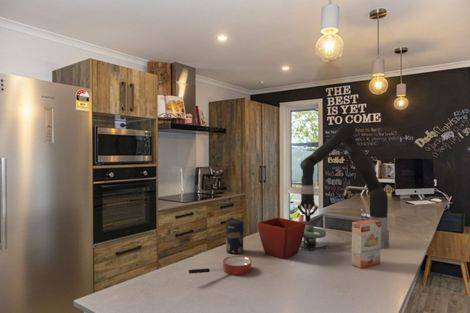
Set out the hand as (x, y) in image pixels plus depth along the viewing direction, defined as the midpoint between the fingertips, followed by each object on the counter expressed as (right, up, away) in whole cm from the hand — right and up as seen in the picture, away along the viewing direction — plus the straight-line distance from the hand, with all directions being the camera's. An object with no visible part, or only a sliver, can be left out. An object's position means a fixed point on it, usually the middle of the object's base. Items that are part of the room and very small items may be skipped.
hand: (307, 221), depth 186 cm
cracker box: (+19, -13, -37) cm, 44 cm away
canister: (-44, -13, -17) cm, 49 cm away
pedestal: (-1, -13, -7) cm, 15 cm away
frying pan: (-50, -14, -50) cm, 72 cm away
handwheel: (-1, -6, -7) cm, 9 cm away
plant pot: (-19, -13, -21) cm, 31 cm away
